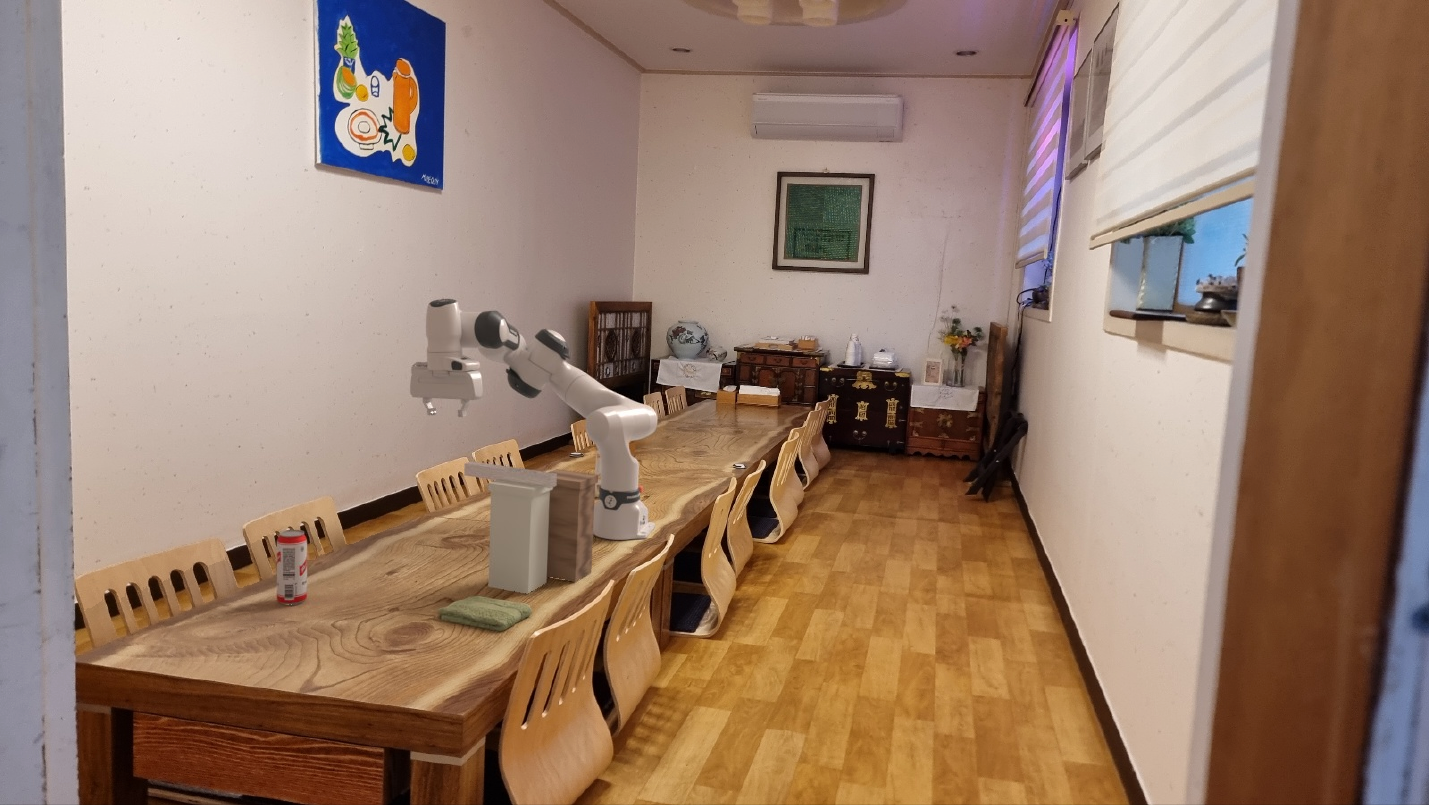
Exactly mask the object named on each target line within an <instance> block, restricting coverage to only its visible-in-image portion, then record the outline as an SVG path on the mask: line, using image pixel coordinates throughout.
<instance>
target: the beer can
mask: <svg viewBox="0 0 1429 805" xmlns="http://www.w3.org/2000/svg"><path fill="white" fill-rule="evenodd" d="M307 597H308V539H307V536H306V535H305V531H304V530H300V529H287V530H282V531H281V532H279V535H278V537H277V539H276V601H277V602H278V603H280V604H281V603H282V604H281V605H283V604H289V605H288V606H295V605H294V604H297V605H300V604H302V603H303V602H304V601H306V599H307ZM299 603H300V604H299ZM291 604H292V605H291Z"/></svg>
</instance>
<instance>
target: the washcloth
mask: <svg viewBox="0 0 1429 805" xmlns="http://www.w3.org/2000/svg"><path fill="white" fill-rule="evenodd" d="M437 614H438V615H439V616H441V618H440V619H441V620H442V621H444V622H450V623H456V624H459V625H460V624H461V625H465V626H471V627H474V628H480V629H486V630H491V631H496V632H503V631H505V630H507V629H508V628H511V627H513V626H515V624H516V623H518V622H521V621H520V620H522V621H523V620H525V619H527V618H530V616H531V615H532V614H533V610H532V607H531V606H530V605H529V604H527V603H524V602H513V601H509V600H507V599H506V600H503V599H496V598H491V597H485V596H481V595H471V596H468V597H466V598H463V599H460V600H457V601H453V602H451V603H450V604H449V605H447V606H442V607H439V608H438V610H437ZM526 617H527V618H526Z"/></svg>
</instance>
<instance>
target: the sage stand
mask: <svg viewBox="0 0 1429 805" xmlns="http://www.w3.org/2000/svg"><path fill="white" fill-rule="evenodd" d="M487 486H488V487H487V488H488V489H487V491H488V492H490V510H489V511H490V513H489V514H490V515H489V552H488V581H487V582H488V585H487V586H488V588H493V589H499V590H503V589H504V590H505V591H509V592H514V591H515V593H519V592H520V594H525V593H526V594H525V595H529V594H531V593H532V592H531V591H533V590H534V591H536V590H537V589H536V588H537V587H539V586H540V585H543V584H544V585H546V584H547V579H548V578H547V553H548V527H549V500H550V490H552V489H553V487H552V488H546V487H539V486H532V485H526V484H519V483H512V482H505V481H499V480H493V481H490V482H488V483H487ZM545 583H546V584H545ZM544 585H543V586H544ZM539 588H540V587H539ZM535 589H536V590H535ZM504 590H503V591H504ZM534 591H533V592H534ZM530 592H531V593H530ZM528 593H529V594H528Z"/></svg>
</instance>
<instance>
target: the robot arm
mask: <svg viewBox="0 0 1429 805" xmlns="http://www.w3.org/2000/svg"><path fill="white" fill-rule="evenodd" d="M425 335H426V336H425V337H426V339H427V348H426V361H425V362H424V361H416V362H415V363H414V364H412V366H411V369H410V373H411V376H410V383H409V384H410V385H409V393H410V395H411V397H412V398H418V399H419V398H422V403H423V404H424V407H425V408H426V414H427V416H435V415H436V414H437V411H436V410H437V409H436V407H434V406H433V404H432V401H433V399H442V400H443V399H445V400H460V404H461V407H460V409H457V416H458V418H459V417H460V418H465V417H467V410H468V408H469V406H470V404H471V401H476V400H480V399H481V398H482V396H483V393H484V391H483V390H484V388H483V379H482V374H481V371H479V369H480V368H481V364H480V361H478V360H475V359H474V358H472V357H468V356H466V355H464V354H463V349H467V348H468V349H478V351H479V353H480V354H481V355H482V356H483V357H484V358H486V359H488V360H490V361H492V362H495V363H500V364H505V365H507V366H509V368H505V373H506V374H507V375H506V376H507V381H508V385H509V387H510V388H511V389H512V390H513V391H514V393H515V394H517V395H518V396H520V397H522V398H528V399H535V398H536V397H538V396H539V395H540V394H541V393H542V391H543V389H544V388H545V387H546V386H547V384H548V383H549V386H550V387H551V390H552V391H553V392H554V393H555V394H556V395H557V396H558V397H559V399H561V400H562V401H563V403H565V404H566V405H568V406H569V407H570V408H571V409H573V410H574V411H575V412H577V413H578V414H579V415H581V416H582V417H583V418H584V419H585V420H586V421H585V424H584V426H585V432H586V435H587V437H588V438H589V440H590V441H592V442H593V443H594V445H595V446H597V448H598V451H599V454H600V459H601V486H600V487H599V497H598V501H596V502H594V523H593V536H596V537H598V538H602V539H607V540H614V541H615V540H616V541H617V540H618V541H620V540H621V541H624V540H627V541H628V540H634V539H647V537H649V535H650V534H651V533H652V532H653V530H654V528H656V523H655V522H653V521H649V509H648V507H647V506H646V505H645V504H644V503H643V502H642V500H641V494H642V493H643V491H644V487H643V486H642V485H641V486H639V471H640V463H639V461H638V459H636V457H634V456H633V455H632V453H631V450H630V447H629V446H630V443H629V442H631V441H639V440H642V439H644V438H647V437H648V436H651V435H652V434H653V433H654V432H655V431H656V430H657V427H658V416H657V413H656V411H655V410H654V408H653V407H652V406H650V405H648V404H644V403H640V402H637V401H635V400H633V399H630V398H629V397H626V396H624V395H622V394H619V393H617V392H616V391H613V390H611V389H609V388H607V387H606V386H604V385H603V384H602V383H600V382H599V381H597V380H596V379H595V378H594V377H592V376H591V375H589V374H588V373H587V372H584V370H581V369H580V368H578V367H575V366H574V365H572V364H570V363H568V362H567V359H571V355H570V348H569V345H568V342H567V341H566V340H565V338H564V337H563V336H562V335H561V333H559V332H558V331H555V330H552V329H549V328H548V329H547V328H542V329H540V330H539V331H538V332H537V333H536V334H535V335H534V338H533V339H532V340H531V342H530V343H529V344H528V345H527V342H526V339H525V337H524V336H523V335H522V334H521V333H520V332H519V330H518V329H517V328H516V327H515V326H513V325H512V324H510V323H509V322H507V319H506V318H505V317H504V315H503V314H502V313H501V312H500V311H497V310H486V311H463V310H462V309H460V305H459V302H458V300H456V299H453V298H441V299H440V298H439V299H436V300H435V299H434V300H431V302H429V303H428V305H427V308H426V314H425ZM566 358H567V359H566Z"/></svg>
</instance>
